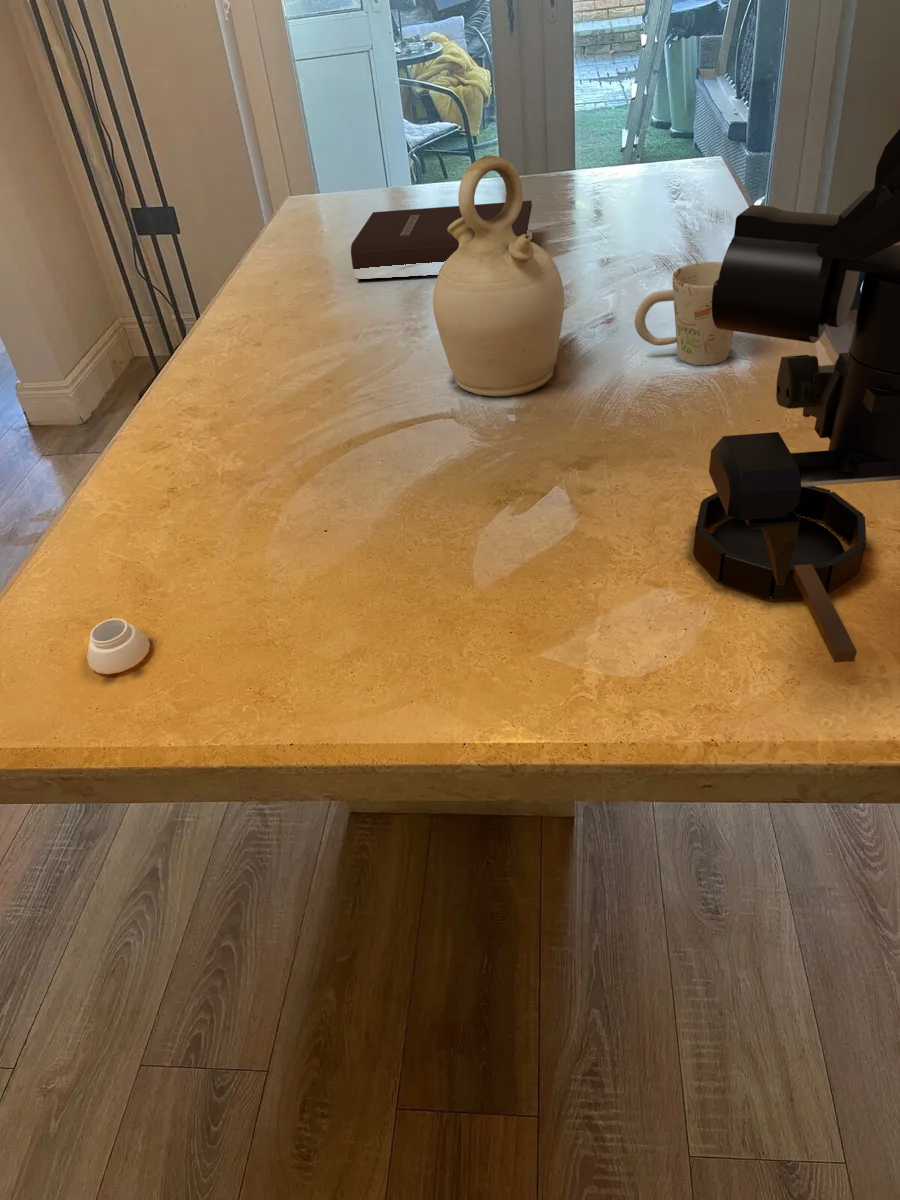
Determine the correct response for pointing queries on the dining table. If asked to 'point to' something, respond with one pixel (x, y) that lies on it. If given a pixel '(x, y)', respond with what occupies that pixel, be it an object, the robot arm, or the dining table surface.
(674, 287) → the mug
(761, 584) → the frying pan
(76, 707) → the dining table surface
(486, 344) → the jug
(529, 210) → the book
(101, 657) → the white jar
